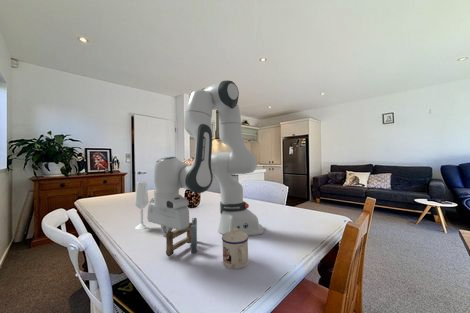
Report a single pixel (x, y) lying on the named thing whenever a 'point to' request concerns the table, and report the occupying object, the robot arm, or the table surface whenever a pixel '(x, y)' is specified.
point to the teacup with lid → (235, 249)
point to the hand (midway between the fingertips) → (167, 237)
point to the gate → (171, 247)
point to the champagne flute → (141, 201)
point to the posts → (193, 235)
